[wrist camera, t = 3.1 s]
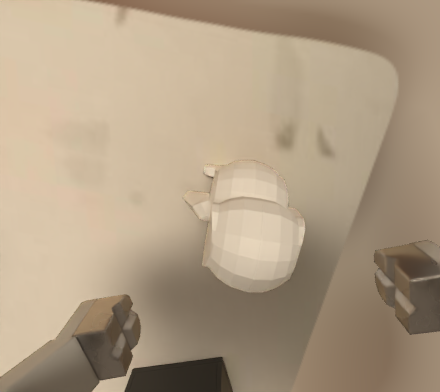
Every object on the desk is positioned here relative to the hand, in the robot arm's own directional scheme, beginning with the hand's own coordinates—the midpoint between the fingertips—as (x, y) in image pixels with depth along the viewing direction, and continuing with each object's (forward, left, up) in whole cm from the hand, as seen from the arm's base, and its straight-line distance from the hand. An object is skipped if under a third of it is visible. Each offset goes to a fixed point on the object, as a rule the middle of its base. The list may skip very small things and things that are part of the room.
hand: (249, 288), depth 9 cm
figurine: (0, 0, -13) cm, 13 cm away
